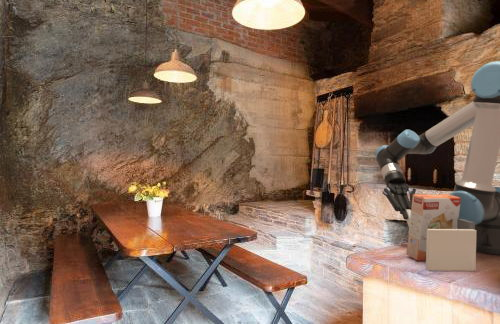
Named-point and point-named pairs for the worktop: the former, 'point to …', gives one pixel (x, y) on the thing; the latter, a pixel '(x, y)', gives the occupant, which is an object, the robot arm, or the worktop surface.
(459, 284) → the worktop surface
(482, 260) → the worktop surface
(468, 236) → the shelf bookend
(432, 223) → the cracker box
